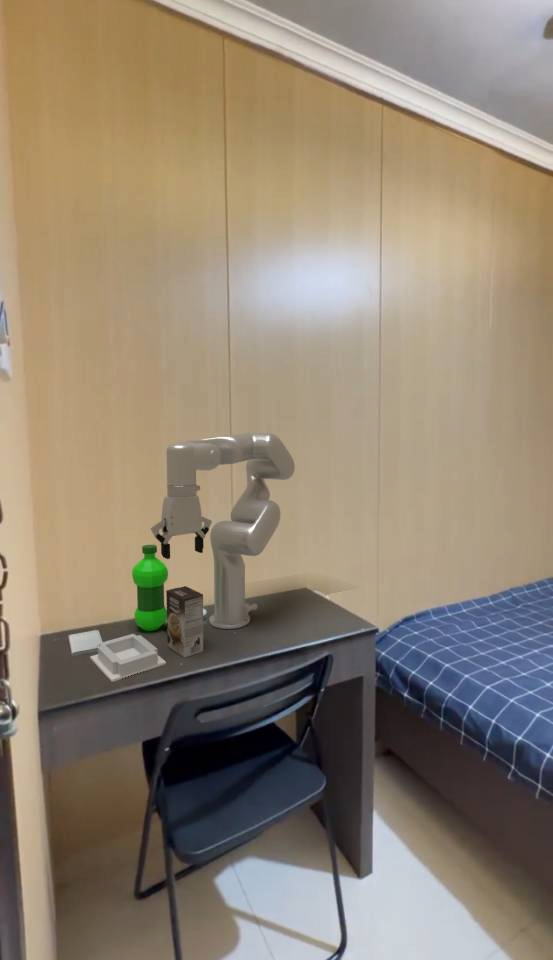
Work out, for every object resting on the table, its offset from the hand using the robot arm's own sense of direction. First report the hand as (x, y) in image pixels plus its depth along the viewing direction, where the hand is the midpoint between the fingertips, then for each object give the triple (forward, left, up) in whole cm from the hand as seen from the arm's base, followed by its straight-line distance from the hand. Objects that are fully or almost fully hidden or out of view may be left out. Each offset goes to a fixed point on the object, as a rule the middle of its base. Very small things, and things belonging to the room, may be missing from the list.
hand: (182, 554), depth 129 cm
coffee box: (0, 0, -26) cm, 27 cm away
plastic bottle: (+1, -19, -26) cm, 33 cm away
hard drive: (+20, -20, -27) cm, 39 cm away
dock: (+15, -3, -26) cm, 30 cm away
